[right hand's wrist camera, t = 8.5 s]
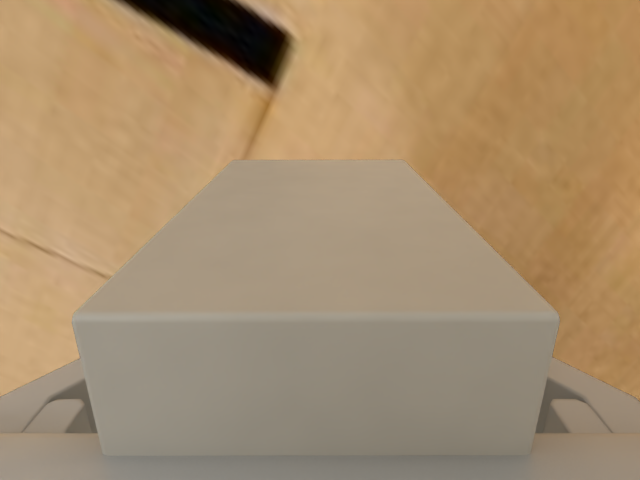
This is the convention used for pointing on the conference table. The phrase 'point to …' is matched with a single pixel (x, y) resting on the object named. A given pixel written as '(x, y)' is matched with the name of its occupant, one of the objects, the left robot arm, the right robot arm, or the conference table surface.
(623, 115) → the conference table surface
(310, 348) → the bar
